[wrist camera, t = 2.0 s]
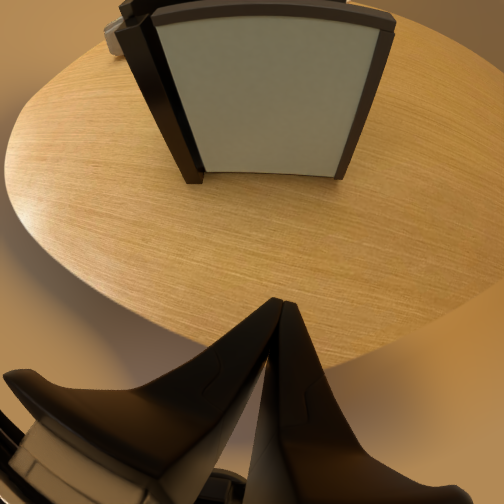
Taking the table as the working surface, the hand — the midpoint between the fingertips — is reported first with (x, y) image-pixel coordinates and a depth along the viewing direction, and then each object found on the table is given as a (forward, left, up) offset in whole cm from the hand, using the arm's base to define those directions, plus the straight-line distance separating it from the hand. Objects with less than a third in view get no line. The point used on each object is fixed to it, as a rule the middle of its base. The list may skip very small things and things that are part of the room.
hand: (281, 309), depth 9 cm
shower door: (+13, +1, -11) cm, 17 cm away
